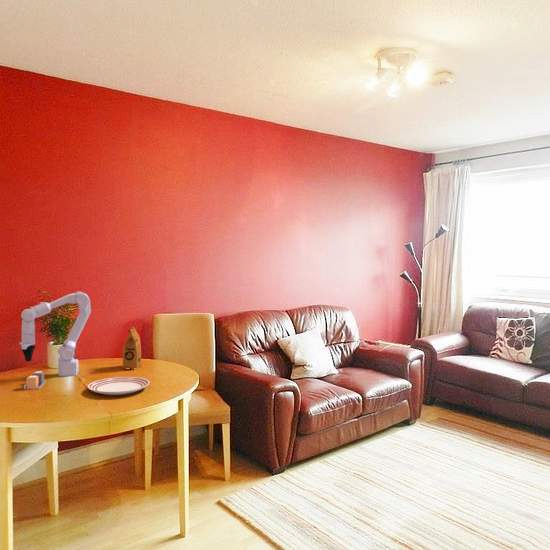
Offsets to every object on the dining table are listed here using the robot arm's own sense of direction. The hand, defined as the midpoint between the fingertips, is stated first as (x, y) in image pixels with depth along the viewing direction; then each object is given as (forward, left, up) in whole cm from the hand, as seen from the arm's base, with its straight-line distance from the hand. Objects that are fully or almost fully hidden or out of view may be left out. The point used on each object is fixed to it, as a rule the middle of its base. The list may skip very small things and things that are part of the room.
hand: (28, 361), depth 231 cm
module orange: (-6, +17, -9) cm, 20 cm away
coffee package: (-47, -22, -10) cm, 53 cm away
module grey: (-7, +9, -9) cm, 14 cm away
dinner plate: (-45, +21, -10) cm, 51 cm away
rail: (-7, +14, -10) cm, 18 cm away
